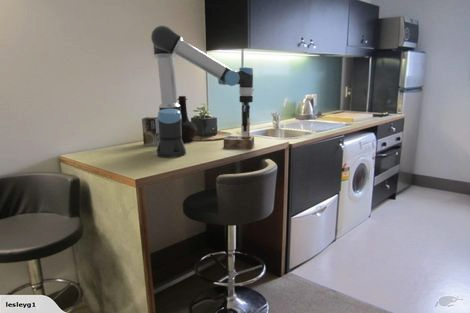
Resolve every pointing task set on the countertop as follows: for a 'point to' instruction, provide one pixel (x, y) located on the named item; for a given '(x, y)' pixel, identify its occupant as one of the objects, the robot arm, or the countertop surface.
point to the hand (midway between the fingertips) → (245, 136)
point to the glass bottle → (186, 122)
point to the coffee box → (150, 131)
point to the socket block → (238, 142)
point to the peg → (248, 129)
